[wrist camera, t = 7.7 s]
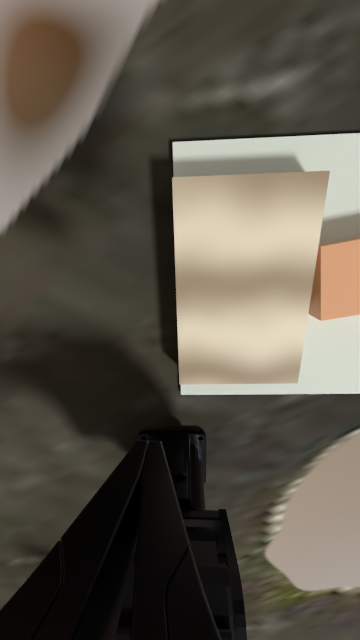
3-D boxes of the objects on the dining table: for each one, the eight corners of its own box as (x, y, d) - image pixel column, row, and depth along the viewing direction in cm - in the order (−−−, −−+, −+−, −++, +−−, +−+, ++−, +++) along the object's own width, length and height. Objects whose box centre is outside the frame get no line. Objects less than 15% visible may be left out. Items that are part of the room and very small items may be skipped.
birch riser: (284, 366, 19) (297, 383, 17) (180, 367, 20) (179, 384, 17) (307, 182, 15) (329, 170, 13) (174, 188, 16) (171, 177, 13)
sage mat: (396, 390, 20) (400, 393, 19) (181, 392, 21) (181, 394, 20) (476, 130, 14) (484, 126, 14) (172, 144, 15) (172, 141, 14)
